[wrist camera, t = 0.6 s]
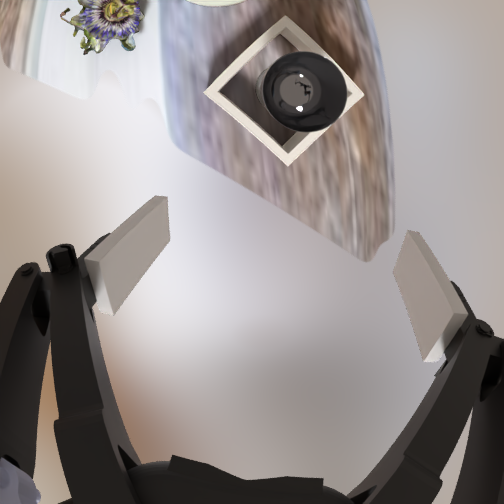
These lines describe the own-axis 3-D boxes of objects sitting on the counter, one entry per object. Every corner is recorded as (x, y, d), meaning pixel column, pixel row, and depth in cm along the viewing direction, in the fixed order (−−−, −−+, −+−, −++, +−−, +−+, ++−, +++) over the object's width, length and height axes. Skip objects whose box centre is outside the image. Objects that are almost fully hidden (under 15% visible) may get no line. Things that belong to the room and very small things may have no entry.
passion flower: (148, 23, 33) (154, 47, 28) (85, 51, 32) (76, 82, 27) (130, -32, 22) (130, -26, 17) (61, -1, 22) (42, 18, 17)
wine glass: (320, 92, 36) (363, 99, 23) (279, 126, 39) (302, 149, 26) (283, 51, 33) (309, 35, 20) (240, 87, 35) (243, 88, 23)
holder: (207, 92, 35) (203, 92, 31) (279, 22, 30) (285, 15, 26) (282, 157, 41) (287, 166, 37) (350, 92, 36) (364, 94, 32)
